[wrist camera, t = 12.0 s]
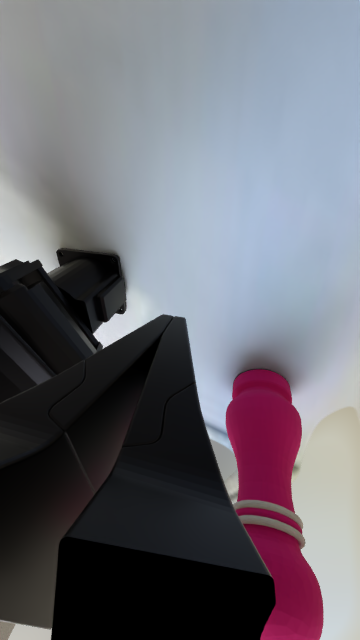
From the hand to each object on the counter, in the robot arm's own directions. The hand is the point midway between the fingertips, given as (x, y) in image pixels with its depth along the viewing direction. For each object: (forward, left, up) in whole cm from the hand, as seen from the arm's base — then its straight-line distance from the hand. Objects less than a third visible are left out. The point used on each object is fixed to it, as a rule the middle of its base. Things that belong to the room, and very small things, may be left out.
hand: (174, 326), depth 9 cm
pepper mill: (+7, -17, -13) cm, 23 cm away
